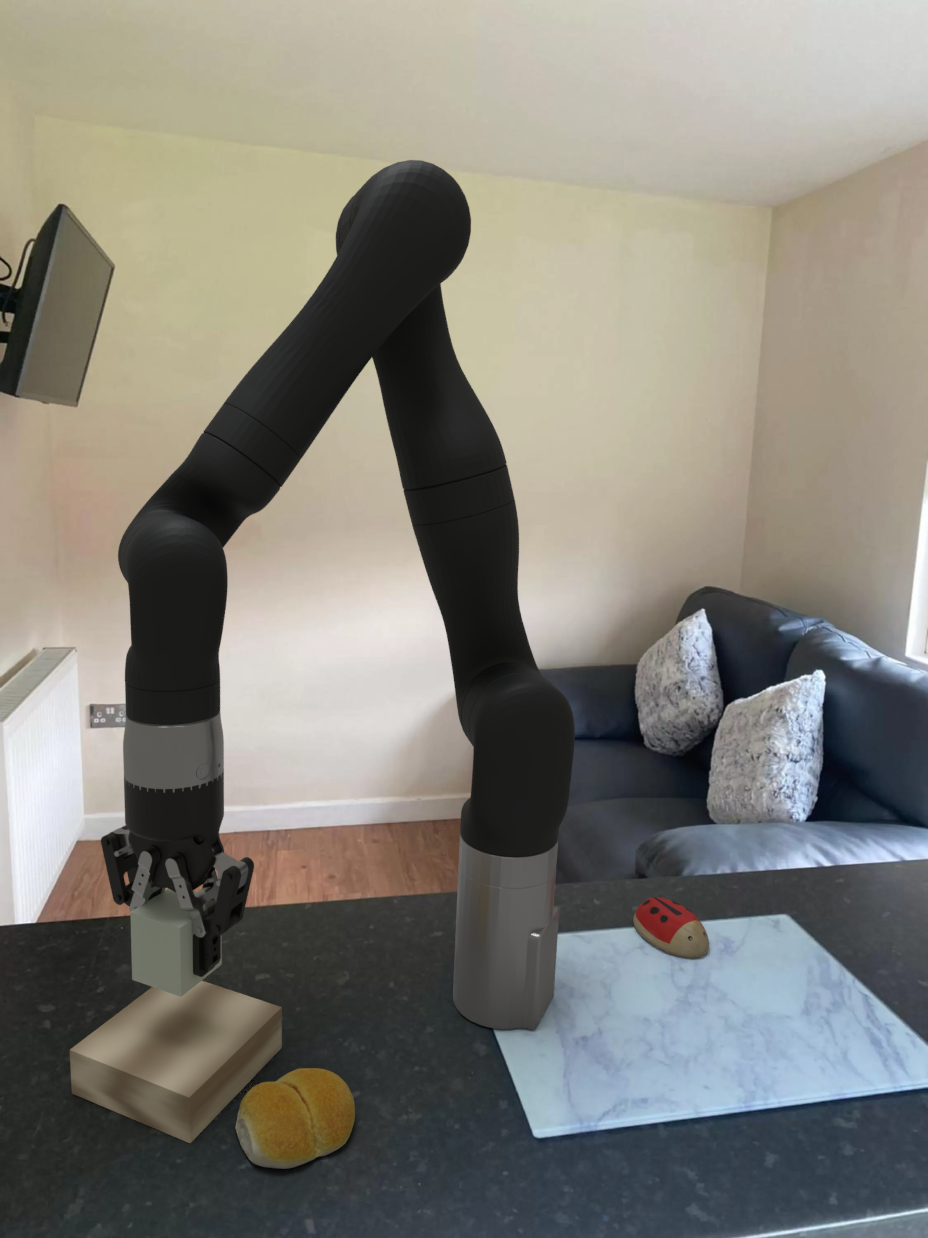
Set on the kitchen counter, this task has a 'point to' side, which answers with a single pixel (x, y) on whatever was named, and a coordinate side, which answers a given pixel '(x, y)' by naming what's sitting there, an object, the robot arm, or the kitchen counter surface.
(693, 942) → the ladybug figurine
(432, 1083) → the kitchen counter surface
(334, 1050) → the kitchen counter surface
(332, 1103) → the bread roll
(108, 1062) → the birch plinth
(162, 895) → the sage block
